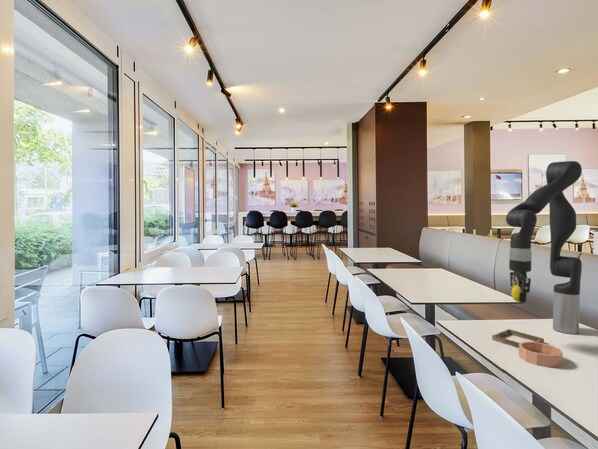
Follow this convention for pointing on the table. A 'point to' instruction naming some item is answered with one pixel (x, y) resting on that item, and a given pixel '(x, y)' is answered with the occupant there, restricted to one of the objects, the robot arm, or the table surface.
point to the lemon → (516, 293)
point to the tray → (498, 336)
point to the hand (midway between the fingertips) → (519, 299)
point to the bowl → (540, 354)
